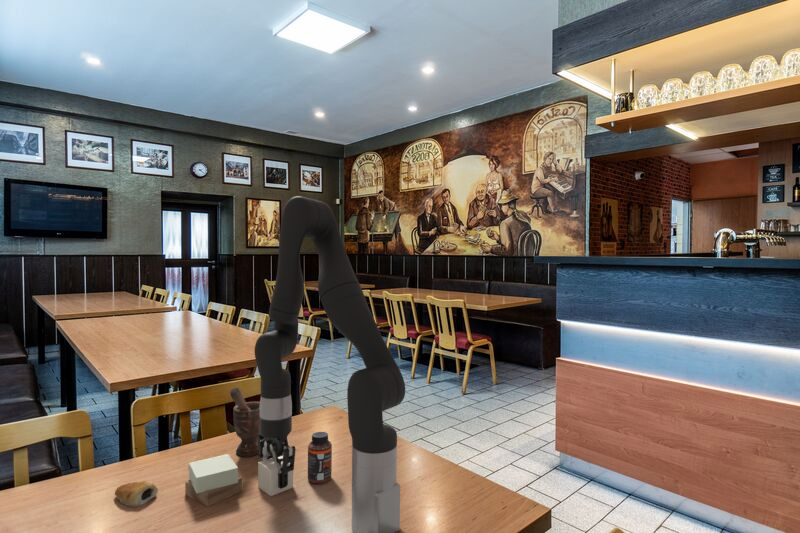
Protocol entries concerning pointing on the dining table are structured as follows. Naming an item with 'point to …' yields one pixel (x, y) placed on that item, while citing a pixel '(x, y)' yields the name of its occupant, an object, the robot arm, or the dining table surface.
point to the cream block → (271, 477)
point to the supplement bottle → (319, 458)
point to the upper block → (213, 473)
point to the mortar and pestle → (246, 423)
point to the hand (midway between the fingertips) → (275, 481)
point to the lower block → (213, 492)
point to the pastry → (136, 493)
